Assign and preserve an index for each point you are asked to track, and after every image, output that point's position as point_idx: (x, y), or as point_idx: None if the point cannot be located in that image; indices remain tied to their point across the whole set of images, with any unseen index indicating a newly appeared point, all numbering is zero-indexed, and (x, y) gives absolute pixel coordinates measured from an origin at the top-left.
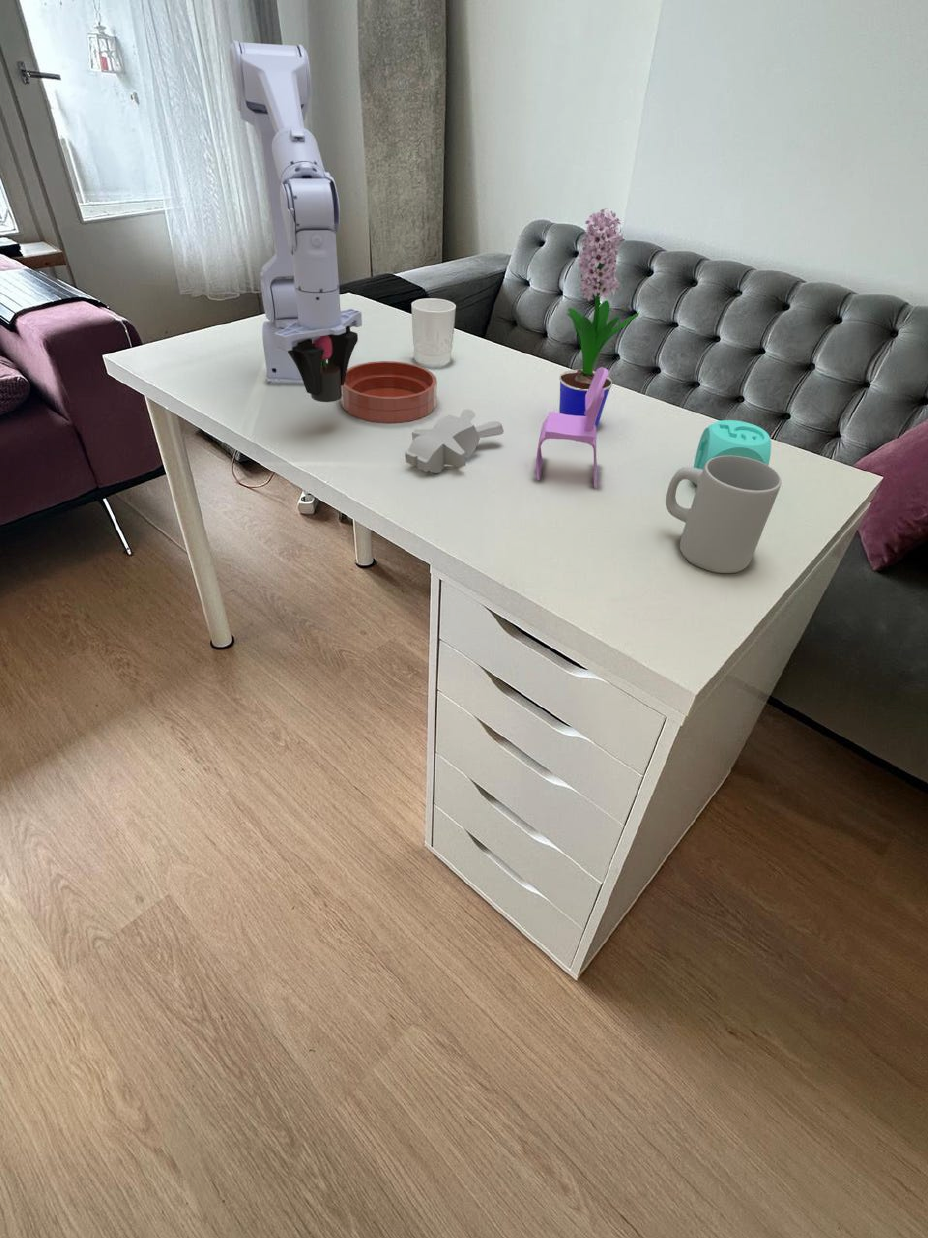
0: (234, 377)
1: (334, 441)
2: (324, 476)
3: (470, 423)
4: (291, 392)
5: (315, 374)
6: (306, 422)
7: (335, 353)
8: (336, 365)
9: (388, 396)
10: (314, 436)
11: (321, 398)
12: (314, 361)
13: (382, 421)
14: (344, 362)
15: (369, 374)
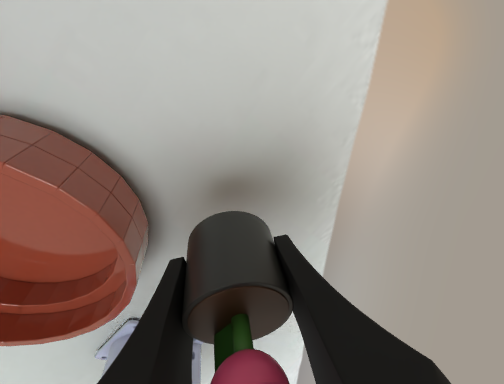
0: None
1: (239, 151)
2: (370, 21)
3: None
4: None
5: (327, 285)
6: None
7: (175, 376)
8: (188, 322)
9: (16, 247)
10: (256, 189)
11: (267, 229)
12: (379, 337)
13: (91, 153)
14: (160, 327)
15: (30, 315)
